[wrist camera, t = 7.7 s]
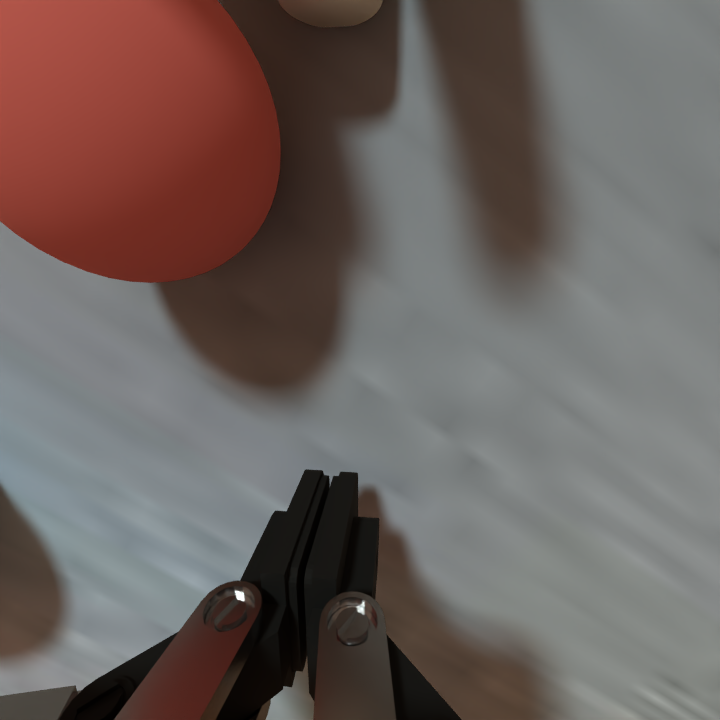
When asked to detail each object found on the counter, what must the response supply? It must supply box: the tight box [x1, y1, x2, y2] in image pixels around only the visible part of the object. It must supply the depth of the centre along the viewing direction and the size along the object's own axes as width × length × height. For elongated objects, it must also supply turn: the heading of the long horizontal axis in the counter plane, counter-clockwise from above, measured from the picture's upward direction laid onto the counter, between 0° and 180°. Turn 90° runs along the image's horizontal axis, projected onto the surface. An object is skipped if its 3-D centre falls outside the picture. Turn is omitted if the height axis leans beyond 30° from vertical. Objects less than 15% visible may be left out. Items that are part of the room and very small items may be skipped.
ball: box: [0, 0, 281, 283], centre depth 8 cm, size 6×6×6 cm
